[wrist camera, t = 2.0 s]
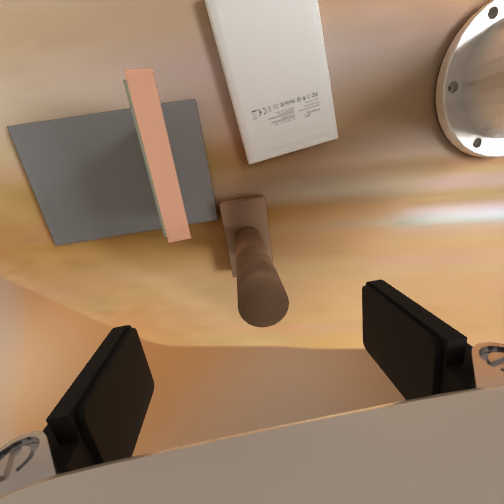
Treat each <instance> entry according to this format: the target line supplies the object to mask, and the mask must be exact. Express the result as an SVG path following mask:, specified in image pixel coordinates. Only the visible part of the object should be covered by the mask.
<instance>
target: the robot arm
mask: <svg viewBox="0 0 504 504" xmlns="http://www.w3.org/2000/svg"><path fill="white" fill-rule="evenodd" d="M436 110H437V115H438V119H439V123H440V125H441V127H442V130H443V132H444V134H445V136H446V137H447V138H448V139H449V141H450V142H451V143H452V144H453V145H454V146H455V147H457V148H458V149H459V150H460V151H462V152H464V153H467V154H469V155H471V156H477V157H500V156H504V0H492V1H490V2H489V3H487V4H486V5H484V6H483V7H481V8H480V9H479V10H478V11H477V12H476V13H475V14H474V15H472V16H471V17H470V18H469V19H468V20H467V22H466V23H465V24H464V25H463V27H462V28H461V29H460V30H459V31H458V33H457V34H456V36H455V38H454V39H453V41H452V43H451V44H450V46H449V48H448V50H447V52H446V55H445V57H444V59H443V62H442V64H441V68H440V72H439V76H438V79H437V88H436ZM362 313H363V343H364V346H365V348H366V350H367V351H368V353H369V354H370V355H371V356H372V358H373V359H374V360H375V361H376V362H377V364H378V365H379V366H380V368H381V369H382V370H383V371H384V373H385V374H386V375H387V376H388V378H389V379H390V380H391V381H392V383H393V384H394V385H395V387H396V388H397V389H398V390H399V392H400V393H401V394H402V395H403V396H404V398H405V399H406V400H405V401H399V402H394V403H389V404H385V405H379V406H375V407H369V408H364V409H359V410H354V411H349V412H345V413H339V414H335V415H330V416H324V417H319V418H314V419H310V420H304V421H299V422H295V423H290V424H285V425H280V426H275V427H270V428H266V429H260V430H256V431H251V432H246V433H241V434H236V435H231V436H227V437H222V438H217V439H213V440H208V441H203V442H199V443H194V444H189V445H184V446H179V447H175V448H170V449H166V450H161V451H156V452H151V453H146V454H142V455H137V456H133V457H132V454H133V451H134V448H135V445H136V442H137V439H138V436H139V433H140V430H141V427H142V424H143V421H144V418H145V415H146V412H147V409H148V406H149V403H150V400H151V397H152V394H153V391H154V381H153V378H152V375H151V372H150V369H149V366H148V363H147V360H146V357H145V354H144V351H143V348H142V345H141V342H140V339H139V336H138V333H137V330H136V329H135V328H132V327H131V326H130V325H127V326H121V327H115V328H113V329H112V330H111V331H110V333H109V334H108V336H107V337H106V338H105V340H104V341H103V342H102V344H101V345H100V346H99V348H98V349H97V351H96V352H95V353H94V355H93V356H92V357H91V359H90V360H89V362H88V363H87V364H86V366H85V367H84V369H83V370H82V371H81V373H80V374H79V375H78V377H77V378H76V379H75V381H74V382H73V383H72V385H71V386H70V388H69V389H68V390H67V392H66V393H65V394H64V396H63V397H62V399H61V400H60V401H59V403H58V404H57V405H56V407H55V408H54V410H53V411H52V412H51V414H50V415H49V416H48V418H47V419H46V421H47V423H48V425H47V426H46V427H45V429H44V430H43V432H41V431H33V432H29V433H26V434H23V435H20V436H19V437H17V438H15V439H13V440H11V441H10V442H8V443H7V444H5V445H4V446H2V447H1V448H0V504H504V344H500V343H492V342H488V343H480V344H476V345H475V346H474V347H472V346H471V345H469V344H468V343H467V337H466V336H464V335H463V334H461V333H460V332H458V331H457V330H455V329H454V328H452V327H451V326H449V325H448V324H446V323H445V322H444V321H442V320H441V319H439V318H438V317H436V316H435V315H433V314H432V313H430V312H429V311H427V310H426V309H424V308H423V307H422V306H420V305H419V304H417V303H416V302H414V301H413V300H411V299H410V298H408V297H407V296H405V295H404V294H402V293H401V292H399V291H398V290H397V289H395V288H394V287H392V286H391V285H389V284H388V283H386V282H385V281H383V280H375V281H370V282H367V283H366V285H365V286H363V288H362Z"/></svg>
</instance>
